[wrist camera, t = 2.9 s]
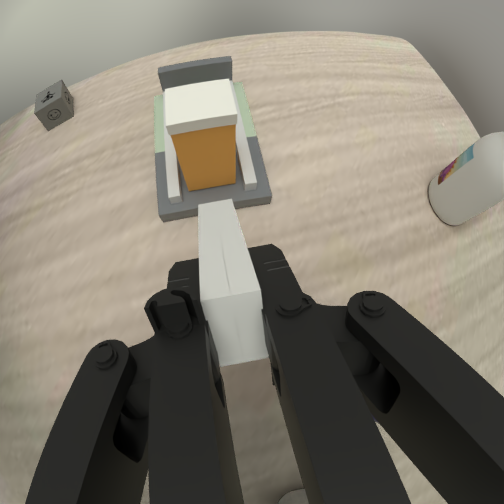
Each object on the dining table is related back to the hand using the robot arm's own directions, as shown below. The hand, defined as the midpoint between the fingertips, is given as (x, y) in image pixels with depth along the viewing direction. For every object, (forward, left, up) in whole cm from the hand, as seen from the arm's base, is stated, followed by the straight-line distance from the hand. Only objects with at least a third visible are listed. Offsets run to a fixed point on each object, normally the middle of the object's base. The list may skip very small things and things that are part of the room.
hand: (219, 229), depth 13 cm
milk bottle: (+25, +20, -17) cm, 36 cm away
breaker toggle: (-6, +10, -15) cm, 19 cm away
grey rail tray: (-8, +15, -17) cm, 24 cm away
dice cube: (-36, +15, -17) cm, 42 cm away
